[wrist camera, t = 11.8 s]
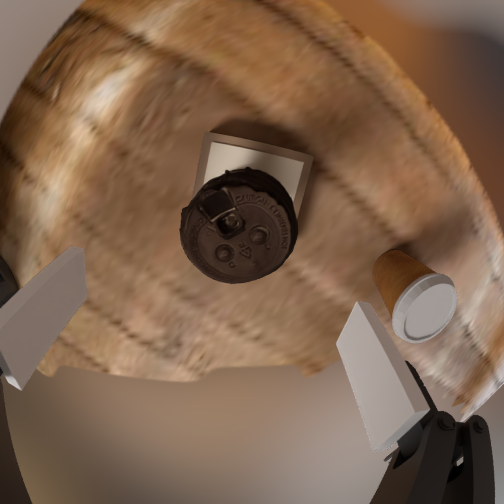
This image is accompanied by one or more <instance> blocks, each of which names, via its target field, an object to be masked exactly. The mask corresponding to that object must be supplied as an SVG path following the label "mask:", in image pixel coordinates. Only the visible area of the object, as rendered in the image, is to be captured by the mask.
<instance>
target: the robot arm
mask: <svg viewBox="0 0 504 504" xmlns="http://www.w3.org/2000/svg"><path fill="white" fill-rule="evenodd" d="M87 298H88V292H87V283H86V272H85V259H84V249H82V248H78V247H74V246H71V247H70V248H68V249H67V250H66V251H64V252H63V253H62V254H61V255H59V256H58V257H57V258H56V259H55V260H53V261H52V262H51V263H50V264H49V265H47V266H46V267H45V268H44V269H43V270H41V271H40V272H39V273H38V274H37V275H36V276H35V277H33V278H32V279H31V280H30V281H29V282H28V283H27V284H26V285H24V286H23V287H22V288H21V289H20V290H19V289H18V288H17V285H16V282H15V279H14V277H13V275H12V273H11V271H10V269H9V267H8V266H7V264H6V263H5V261H4V260H3V259H2V258H1V256H0V376H1V375H2V373H3V374H4V376H5V377H6V379H7V381H8V382H9V383H10V384H12V385H13V386H15V387H16V388H18V389H20V390H22V389H23V388H24V386H25V385H26V383H27V381H28V380H29V378H30V377H31V375H32V374H33V372H34V370H35V369H36V367H37V366H38V364H39V363H40V361H41V360H42V358H43V357H44V356H45V354H46V353H47V351H48V350H49V348H50V347H51V345H52V344H53V343H54V341H55V340H56V338H57V337H58V336H59V334H60V333H61V332H62V330H63V329H64V328H65V326H66V325H67V324H68V322H69V321H70V320H71V318H72V317H73V316H74V314H75V313H76V312H77V311H78V309H79V308H80V307H81V305H82V304H83V303H84V302H85V300H86V299H87ZM336 345H337V348H338V351H339V353H340V356H341V359H342V361H343V364H344V367H345V370H346V373H347V375H348V378H349V381H350V384H351V387H352V390H353V393H354V395H355V398H356V401H357V404H358V407H359V410H360V413H361V416H362V419H363V423H364V426H365V429H366V432H367V435H368V438H369V441H370V445H371V448H372V451H373V452H375V451H381V450H386V449H389V448H390V447H391V446H392V445H393V444H395V443H396V442H397V443H398V446H399V447H398V448H397V449H396V450H395V451H393V452H392V453H391V454H390V455H388V456H387V457H386V458H385V459H384V461H387V460H389V459H390V458H391V457H392V459H391V461H390V462H389V466H388V468H387V470H386V472H385V474H384V477H383V479H382V481H381V483H380V485H379V487H378V489H377V491H376V493H375V495H374V496H373V498H372V500H371V502H370V504H495V482H494V466H493V456H492V448H491V441H490V434H489V429H488V425H487V423H486V421H485V420H484V419H483V418H482V417H480V416H478V415H473V416H471V417H470V418H469V419H468V420H467V421H466V422H465V423H463V422H455V419H454V418H453V417H452V416H451V415H450V414H449V413H447V412H444V411H438V410H437V408H436V406H435V404H434V402H433V400H432V398H431V397H430V395H429V393H428V391H427V389H426V387H425V386H424V384H423V382H422V380H421V379H420V376H419V375H418V373H417V371H416V369H415V368H414V367H413V366H412V365H411V364H410V363H409V362H408V361H404V359H403V357H402V356H401V354H400V352H399V350H398V349H397V347H396V345H395V344H394V342H393V340H392V338H391V337H390V335H389V333H388V332H387V330H386V328H385V327H384V325H383V324H382V322H381V320H380V319H379V317H378V315H377V314H376V312H375V311H374V309H373V308H372V306H371V304H370V303H367V302H360V301H356V303H355V306H354V308H353V310H352V312H351V314H350V316H349V318H348V320H347V322H346V324H345V326H344V328H343V330H342V332H341V334H340V336H339V338H338V340H337V342H336ZM461 457H463V463H461V464H460V465H459V466H457V461H458V460H459V459H460V458H461ZM0 504H32V502H31V499H30V497H29V494H28V492H27V489H26V487H25V484H24V481H23V478H22V476H21V472H20V470H19V466H18V463H17V459H16V456H15V452H14V448H13V445H12V440H11V436H10V432H9V427H8V422H7V416H6V410H5V403H4V395H3V386H2V382H1V379H0Z"/></svg>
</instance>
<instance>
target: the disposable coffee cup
mask: <svg viewBox="0 0 504 504" xmlns="http://www.w3.org/2000/svg"><path fill="white" fill-rule="evenodd" d="M373 279H374V281H375V283H376V285H377V287H378V289H379V292H380V294H381V296H382V298H383V300H384V302H385V304H386V307H387V309H388V311H389V313H390V316H391V318H392V322H393V329H394V331H395V333H396V335H397V336H399V337H400V338H402V339H404V340H406V341H407V342H409V343H421V342H424V341H427V340H429V339H431V338H433V337H434V336H435V335H437V334H438V333H439V332H440V331H442V330H443V328H444V327H445V326H446V325H447V324H448V322H449V321H450V320H451V318H452V316H453V314H454V312H455V309H456V306H457V300H458V298H457V292H456V290H455V287H454V284H453V281H452V280H451V279H450V278H449V277H448V276H446V275H444V274H439V273H436V272H435V271H433V270H432V269H429V268H428V267H427V266H425V265H424V264H422V263H420V262H419V261H417V260H415V259H414V258H412V257H410V256H409V255H407V254H405V253H404V252H402V251H400V250H390V251H388V252H386V253H384V254H383V255H381V256H380V257H379V259H378V260H377V261H376V263H375V265H374V268H373Z"/></svg>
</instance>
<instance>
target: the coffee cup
mask: <svg viewBox="0 0 504 504" xmlns="http://www.w3.org/2000/svg"><path fill="white" fill-rule="evenodd" d="M179 230H180V239H181V245H182V246H183V249H184V251H185V254H186V255H187V257H188V259H189V260H190V261H191V262H192V263H193V265H194V266H196V267H197V268H198V269H199V270H200V271H201V272H202V273H203V274H205V275H206V276H208V277H210V278H212V279H214V280H217V281H220V282H225V283H230V284H235V283H245V282H249V281H253V280H257V279H260V278H262V277H264V276H266V275H269V274H271V273H272V272H274V271H276V270H277V269H278V268H280V267H281V266H282V265H283V263H284V262H285V260H286V259H287V258H288V257H289V255H290V254H291V253H292V252H293V249H294V246H295V243H296V240H297V235H298V222H297V217H296V213H295V210H294V205H293V200H292V198H291V197H290V195H289V193H288V192H287V191H286V189H285V187H284V186H283V185H282V184H281V183H280V181H278V180H277V179H276V178H274V177H273V176H271V175H269V174H268V173H267V172H263V171H261V170H258V169H251V168H250V167H248V166H247V167H246V168H245V169H236V170H232V171H229V170H225V173H224V174H222V175H221V176H218V177H215V178H213V179H210V180H209V181H208V182H207V183H205V184H204V185H203V186H202V188H201V189H200V190H199V191H198V193H197V194H196V196H195V197H194V198H193V199H192V200H191V202H190V203H189V205H188V206H187V207H185V208H183V209H182V213H181V228H180V229H179Z"/></svg>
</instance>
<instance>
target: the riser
mask: <svg viewBox="0 0 504 504" xmlns="http://www.w3.org/2000/svg"><path fill="white" fill-rule="evenodd" d="M313 159H314V156H312V155H309V154H306V153H302V152H298V151H294V150H291V149H287V148H283V147H279V146H275V145H270V144H266V143H262V142H257V141H253V140H248V139H243V138H238V137H233V136H228V135H223V134H217V133H212V132H205V134H204V138H203V143H202V148H201V153H200V158H199V163H198V169H197V174H196V180H195V185H194V191H193V197H192V199H193V198H194V197H195V196H196V194H197V193H198V191H199V190H200V189H201V188H202V186H203V185H204V184H205V183H207V182H208V181H209V180H210V179H213V178H215V177H218V176H221V175H222V174H224V173H225V170H229V171H232V170H236V169H245V168H246V167H247V166H248V167H250V168H251V169H258V170H261V171H263V172H267V173H268V174H269V175H271V176H273V177H274V178H276V179H277V180H278V181H280V183H281V184H282V185H283V186H284V187H285V189H286V191H287V192H288V193H289V195H290V197H291V198H292V200H293V205H294V210H295V213H296V217H297V218H298V214H299V211H300V207H301V203H302V200H303V196H304V193H305V189H306V185H307V182H308V178H309V174H310V171H311V167H312V163H313Z"/></svg>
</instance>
